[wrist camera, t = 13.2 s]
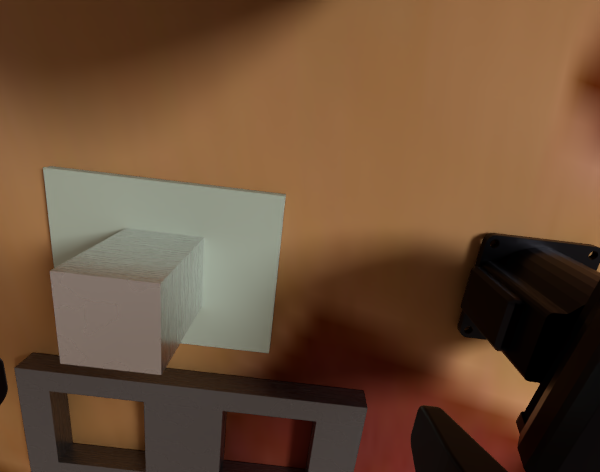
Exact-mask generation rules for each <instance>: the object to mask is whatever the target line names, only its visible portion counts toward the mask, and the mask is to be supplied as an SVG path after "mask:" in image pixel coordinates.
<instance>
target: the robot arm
mask: <svg viewBox="0 0 600 472" xmlns="http://www.w3.org/2000/svg"><path fill="white" fill-rule="evenodd" d="M495 239H496V242H495V244H494V245H492V246H490V243H491V241H492V240H495ZM592 251H593V252H592ZM591 252H592V255H591V256H589V254H590V253H591ZM588 256H589V257H588ZM599 263H600V248H599V247H596V246H594V245H591V244H582V243H574V242H565V241H557V240H548V239H540V238H532V237H523V236H515V235H506V234H498V233H490V234H487V235H486V236H485V237H484V238H483V240H482V243H481V247H480V250H479V254H478V257H477V261H476V264H475V267H474V268H473V269H472V270H471V272H470V276H469V279H468V283H467V286H466V290H465V293H464V297H463V300H462V304H461V308H462V312H461V316H460V319H459V323H458V330H459V332H460V333H461V335H463V336H464V337H469V338H478V339H487V340H488V341H489V342H490V344H491V345H492V346H493V347H494V349H495V350H497V351H502V352H503V354H504V355H505V356H506V357H507V358H508V359H509V361H510V362H511V363H512V364H513V365H514V367H515V368H516V369H517V370H518V371H519V372H520V374H521V375H522V376H523V377H524V378H525V380H527V381H530V382H539V383H540V385H539V387H538V389H537V391H536V392H535V394H534V396H533V398H532V399H531V401H530V403H529V405H528V406H527V408H526V410H525V412H521V413H520V415H519V417H518V418H517V420H516V423H517V427H518V430H519V433H520V436H519V442H518V447H517V448H518V451H519V454H520V457H521V461H522V464H523V467H524V469H525V471H526V472H600V273H599V272H598V271H596V270H597V268H598V265H599ZM467 326H470V328H469V329H467V330H464V329H465V328H466V327H467ZM7 390H8V386H7V380H6V374H5V368H4V363H3V361H2V359H1V358H0V405H1V403H2V402H3V400H4V399H5V397H6V394H7ZM411 448H412V454H413V460H414V465H415V471H416V472H507V471H506V470H505V469H504V468H503V467H502V466H501V465H500V464H499V463H498V462H497V461H496V460H495V459H494V458H493V457H492V456H491V455H490V454H489V453H487V452H486V451H485V450H484V449H483V448H482V447H481V446H480V445H479V444H478V443H477V442H476V441H475V440H474V439H473V438H472V437H471V436H470V435H469V434H467V433H466V432H465V431H464V430H463V429H462V428H461V427H460V426H459V425H458V424H457V423H456V422H455V421H454V420H453V419H452V418H451V417H450V416H449V415H447V414H446V413H445V412H444V411H443V410H442V409H441V408H439V407H433V406H425V405H423V406H420V407H419V409H418V412H417V415H416V419H415V423H414V426H413V430H412V434H411Z"/></svg>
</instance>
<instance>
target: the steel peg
mask: <svg viewBox="0 0 600 472" xmlns="http://www.w3.org/2000/svg"><path fill="white" fill-rule="evenodd" d="M203 259H204V237H198V236H189V235H181V234H172V233H164V232H155V231H146V230H138V229H129V228H125V229H123V230H122V231H120V232H118V233H116V234H114V235H113V236H111V237H109V238H107V239H106V240H104V241H102V242H100V243H98V244H97V245H95V246H93V247H91V248H90V249H88V250H86V251H84V252H82V253H81V254H79V255H77V256H75V257H73V258H72V259H70V260H68V261H66V262H65V263H63V264H61V265H59V266H57V267H56V268H54V269H52V270H50V278H51V287H52V296H53V304H54V313H55V322H56V330H57V339H58V348H59V356H60V364H69V365H77V366H86V367H95V368H104V369H113V370H121V371H130V372H139V373H148V374H157V375H162V373H163V371H164V370H165V368H166V366H167V365H168V363H169V361H170V360H171V358H172V356H173V354H174V353H175V351H176V349H177V348H178V346H179V344H180V343H181V341H182V339H183V338H184V336H185V334H186V333H187V331H188V329H189V328H190V326H191V324H192V323H193V321H194V319H195V318H196V316H197V314H198V312H199V311H200V309H201V307H202V291H203Z"/></svg>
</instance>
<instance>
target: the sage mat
mask: <svg viewBox="0 0 600 472" xmlns="http://www.w3.org/2000/svg"><path fill="white" fill-rule="evenodd" d="M43 172H44V181H45V190H46V199H47V208H48V217H49V226H50V235H51V245H52V254H53V263H54V268H56V267H57V266H59V265H61V264H63V263H65V262H66V261H68V260H70V259H72V258H73V257H75V256H77V255H79V254H81V253H82V252H84V251H86V250H88V249H90V248H91V247H93V246H95V245H97V244H98V243H100V242H102V241H104V240H106V239H107V238H109V237H111V236H113V235H114V234H116V233H118V232H120V231H122V230H123V229H125V228H129V229H138V230H146V231H155V232H164V233H172V234H181V235H189V236H198V237H204V259H203V291H202V307H201V309H200V311H199V312H198V314H197V316H196V318H195V319H194V321H193V323H192V324H191V326H190V328H189V329H188V331H187V333H186V334H185V336H184V338H183V339H182V341H181V343H183V344H192V345H201V346H209V347H218V348H227V349H235V350H244V351H253V352H262V353H269V350H270V342H271V332H272V322H273V313H274V303H275V293H276V284H277V274H278V264H279V255H280V245H281V236H282V226H283V216H284V207H285V197H286V194H280V193H272V192H263V191H255V190H246V189H238V188H230V187H221V186H213V185H204V184H196V183H188V182H179V181H171V180H162V179H154V178H146V177H137V176H129V175H120V174H112V173H104V172H95V171H87V170H78V169H70V168H62V167H53V166H49V167H43Z"/></svg>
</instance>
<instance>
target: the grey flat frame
mask: <svg viewBox="0 0 600 472" xmlns="http://www.w3.org/2000/svg"><path fill="white" fill-rule="evenodd" d="M14 369H15V375H16V381H17V387H18V394H19V400H20V406H21V412H22V418H23V424H24V430H25V436H26V443H27V449H28V455H29V461H30V467H31V472H354V467H355V463H356V458H357V454H358V449H359V444H360V440H361V435H362V431H363V426H364V421H365V417H366V412H367V404H366V399H365V394H364V391H363V390H354V389H345V388H337V387H328V386H319V385H310V384H302V383H293V382H284V381H275V380H267V379H258V378H249V377H240V376H232V375H223V374H214V373H205V372H197V371H188V370H179V369H170V368H165V370H164V371H163V373H162V375H157V374H148V373H139V372H130V371H121V370H113V369H104V368H95V367H86V366H77V365H69V364H60V356H57V355H48V354H39V353H32V354H31V355H29V356H28V357H27V358H26V359H24V360H23V361H22V362H21V363H20V364H18V365H17V366H16V367H15V368H14ZM67 393H70V394H78V395H87V396H96V397H105V398H114V399H122V400H131V401H140V402H144V422H145V451H138V450H129V449H120V448H111V447H102V446H93V445H84V444H75V443H73V442H72V433H71V424H70V415H69V406H68V397H67ZM227 411H228V412H237V413H246V414H254V415H263V416H272V417H281V418H290V419H299V420H307V421H313V426H312V432H311V439H310V445H309V451H308V457H307V464H306V469H298V468H289V467H280V466H271V465H262V464H253V463H245V462H236V461H227V460H224V447H225V431H226V415H227Z"/></svg>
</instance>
